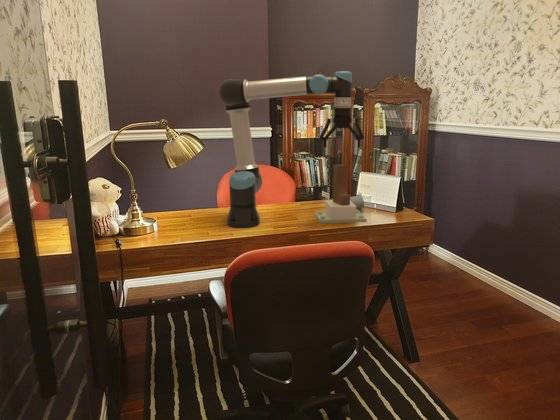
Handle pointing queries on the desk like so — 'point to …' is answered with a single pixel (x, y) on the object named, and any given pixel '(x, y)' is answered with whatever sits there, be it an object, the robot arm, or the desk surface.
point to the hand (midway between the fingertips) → (341, 154)
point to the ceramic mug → (358, 202)
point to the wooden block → (340, 185)
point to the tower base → (326, 220)
